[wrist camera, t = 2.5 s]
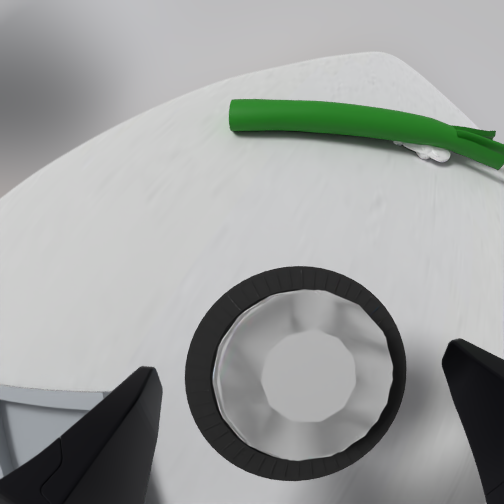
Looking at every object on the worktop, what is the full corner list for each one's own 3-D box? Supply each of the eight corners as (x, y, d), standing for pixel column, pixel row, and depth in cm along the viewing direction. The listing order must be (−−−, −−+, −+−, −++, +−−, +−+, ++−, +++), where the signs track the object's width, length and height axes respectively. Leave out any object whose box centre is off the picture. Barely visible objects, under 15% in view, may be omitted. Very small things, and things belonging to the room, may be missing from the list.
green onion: (232, 149, 22) (524, 187, 19) (226, 118, 19) (540, 169, 16) (238, 111, 24) (508, 152, 21) (234, 82, 21) (521, 133, 18)
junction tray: (163, 555, 9) (155, 568, 7) (28, 519, 8) (16, 524, 7) (117, 391, 14) (102, 392, 12) (-6, 383, 13) (-22, 381, 11)
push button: (362, 373, 14) (489, 360, 5) (304, 451, 12) (369, 544, 3) (267, 306, 16) (280, 207, 7) (205, 381, 14) (123, 391, 5)
